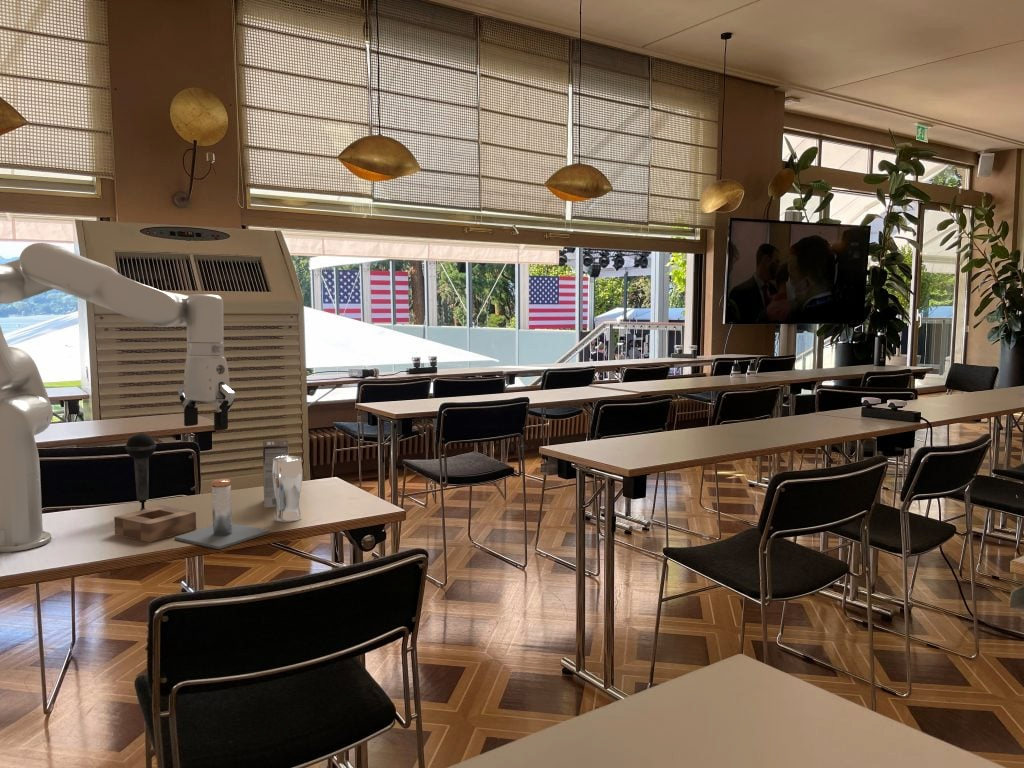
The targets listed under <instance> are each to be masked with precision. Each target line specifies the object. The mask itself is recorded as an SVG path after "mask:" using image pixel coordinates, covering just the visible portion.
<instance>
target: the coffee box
mask: <svg viewBox="0 0 1024 768" xmlns="http://www.w3.org/2000/svg"><path fill="white" fill-rule="evenodd" d="M289 449H290V448H289V442H288V440H287V439H285V440H278V439H276V440H275V439H273V440H263V441H262V466H263V467H262V469H263V470H262V472H263V473H262V476H263V499H264V500H263V501H264V502H263V503H264V505H263V506H264V508H267V509H268V508H277V502H276V496H275V492H274V486H273V459H274V458H276V457H281V456H290V455H289V454H290V453H289Z"/></svg>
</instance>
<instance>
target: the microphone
mask: <svg viewBox="0 0 1024 768" xmlns="http://www.w3.org/2000/svg"><path fill="white" fill-rule="evenodd" d="M124 448H125V451H126V452H127V454H128V456H129V457H130V458H132V459H133V462H134V463H133V464H134V475H135V476H134V477H135V491H136V500H137V501H138V503H140V504H141V505H140V507H141V508H140V510H144V509H146V508H145V503H147V500H149V471H150V470H149V467H150V465H149V463H150V462H149V461H150V460H149V459H150V457H151V456H152V455H153V454H154V453H155V451H156V448H157V444H156V442H155V440H154V438H153V437H152V436H150V435H149V434H147V433H136V434H134V435H132V436H131V437H129V439H128V440H127V442H126V445H125V447H124ZM140 510H139V511H140Z"/></svg>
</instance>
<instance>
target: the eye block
mask: <svg viewBox="0 0 1024 768" xmlns="http://www.w3.org/2000/svg"><path fill="white" fill-rule="evenodd" d="M196 516H197V512H196V511H194V510H193V511H192V510H188V509H182V508H176V507H173V506H172V507H171V506H166V505H156V506H153V507H149V508H145V509H144V510H137V511H133V512H129V513H125V514H120V515H116V516H114V519H113V520H114V534H115V535H116V536H117V535H118V536H121V537H126V538H130V539H135V540H139V541H143V542H148V543H152V542H155V541H159V540H163V539H166V538H169V537H173V536H177V535H181V534H182V533H183V534H185V533H186V532H187V533H188V532H191V531H195V530H196V529H197V517H196Z"/></svg>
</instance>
